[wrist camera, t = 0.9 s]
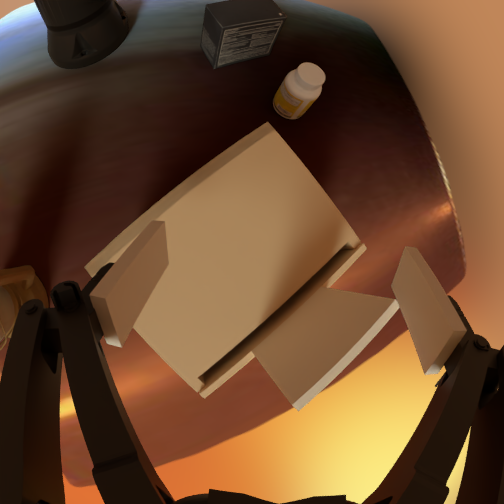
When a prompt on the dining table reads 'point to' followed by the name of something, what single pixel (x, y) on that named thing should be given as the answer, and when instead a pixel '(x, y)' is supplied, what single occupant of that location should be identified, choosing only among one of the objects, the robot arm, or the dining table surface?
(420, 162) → the dining table surface
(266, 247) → the carton
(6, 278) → the lantern
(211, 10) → the small box
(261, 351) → the front flap
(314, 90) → the supplement bottle
